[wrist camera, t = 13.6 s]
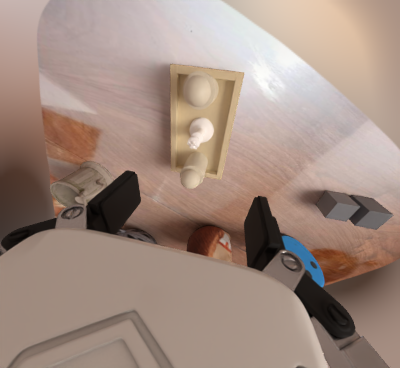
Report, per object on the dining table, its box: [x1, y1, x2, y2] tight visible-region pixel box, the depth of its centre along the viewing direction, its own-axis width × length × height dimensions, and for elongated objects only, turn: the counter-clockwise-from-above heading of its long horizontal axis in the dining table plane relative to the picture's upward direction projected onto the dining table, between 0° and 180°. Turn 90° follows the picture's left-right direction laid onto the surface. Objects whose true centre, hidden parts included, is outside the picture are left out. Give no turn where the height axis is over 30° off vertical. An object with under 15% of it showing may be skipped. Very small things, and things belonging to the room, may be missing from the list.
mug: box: [50, 161, 113, 207], centre depth 38 cm, size 14×10×12 cm
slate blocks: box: [316, 191, 393, 230], centre depth 33 cm, size 4×10×5 cm, turn 84°
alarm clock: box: [282, 236, 324, 287], centre depth 39 cm, size 13×6×15 cm, turn 63°
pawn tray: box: [170, 64, 244, 189], centre depth 27 cm, size 20×12×11 cm, turn 174°
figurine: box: [187, 226, 232, 262], centre depth 43 cm, size 14×16×15 cm
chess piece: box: [187, 117, 214, 149], centre depth 26 cm, size 5×5×10 cm
